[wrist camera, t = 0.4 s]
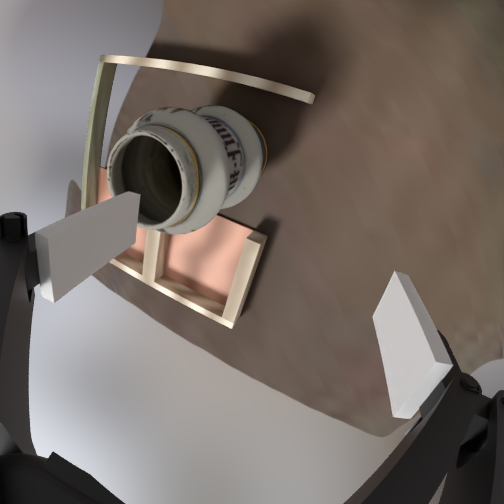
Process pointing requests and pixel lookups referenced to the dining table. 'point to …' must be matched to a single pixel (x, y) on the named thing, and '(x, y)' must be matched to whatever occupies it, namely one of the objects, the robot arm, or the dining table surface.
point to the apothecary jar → (186, 165)
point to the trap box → (191, 244)
